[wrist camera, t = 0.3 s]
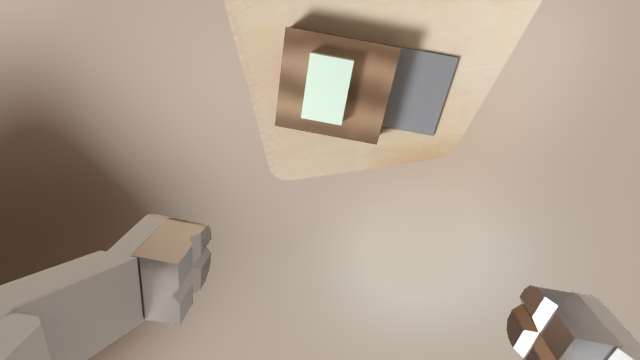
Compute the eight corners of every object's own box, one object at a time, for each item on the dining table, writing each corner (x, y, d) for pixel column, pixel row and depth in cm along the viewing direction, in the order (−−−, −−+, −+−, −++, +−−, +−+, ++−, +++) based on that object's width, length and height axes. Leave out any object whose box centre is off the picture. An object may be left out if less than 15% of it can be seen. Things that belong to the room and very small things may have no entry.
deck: (290, 26, 48) (285, 27, 45) (397, 46, 48) (401, 48, 45) (280, 118, 54) (274, 125, 51) (375, 136, 54) (376, 144, 51)
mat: (400, 47, 48) (401, 47, 48) (457, 57, 48) (458, 57, 48) (380, 125, 53) (381, 126, 53) (432, 135, 53) (433, 135, 53)
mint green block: (311, 51, 46) (310, 52, 44) (354, 59, 46) (354, 61, 44) (302, 114, 50) (300, 118, 48) (341, 121, 50) (341, 125, 48)
